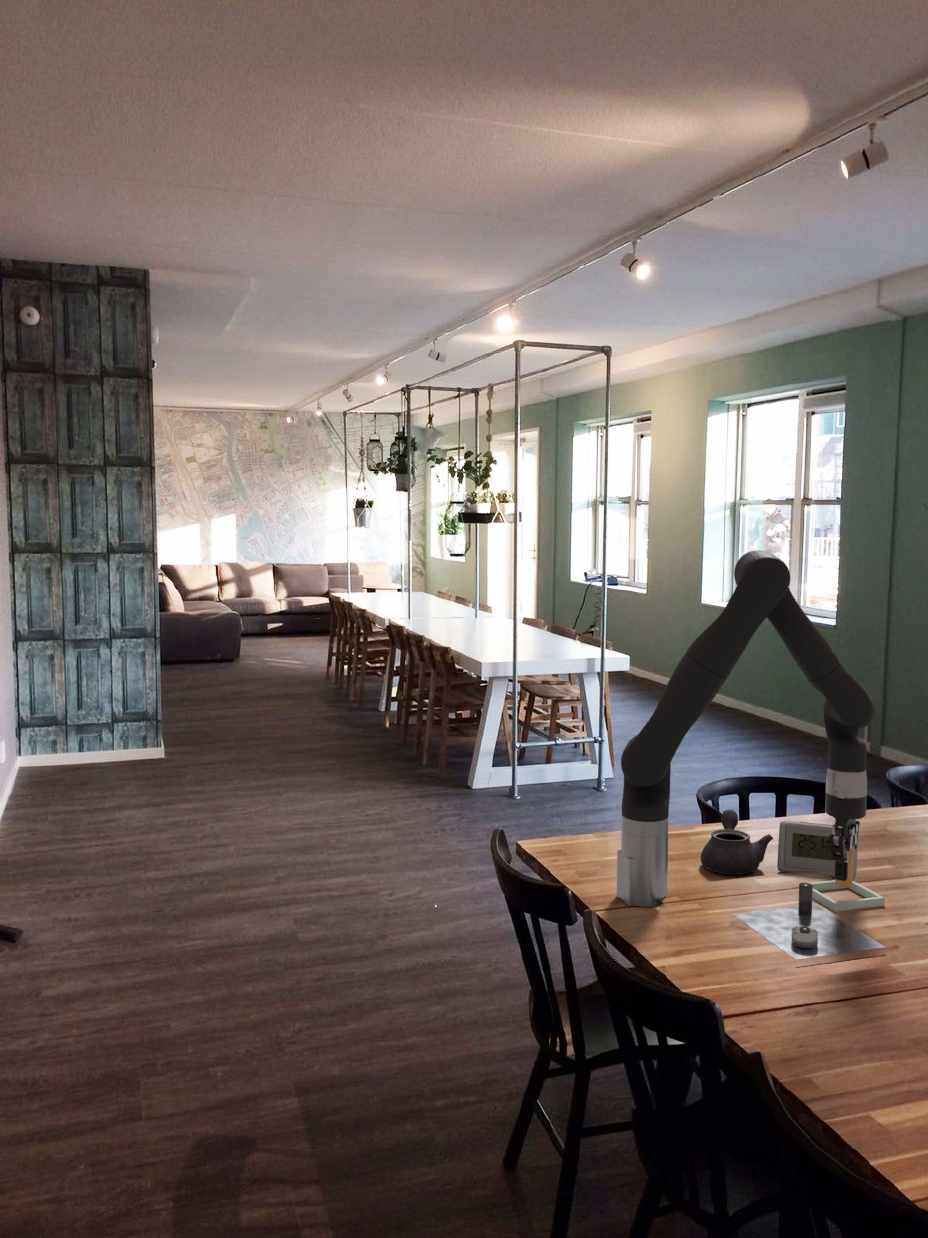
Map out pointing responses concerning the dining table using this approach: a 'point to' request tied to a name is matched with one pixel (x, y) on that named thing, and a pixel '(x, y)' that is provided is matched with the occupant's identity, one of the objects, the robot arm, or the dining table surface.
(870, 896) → the tray
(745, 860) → the teapot
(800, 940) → the crank
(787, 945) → the crank base
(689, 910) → the dining table surface
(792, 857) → the digital clock
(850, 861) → the pin
